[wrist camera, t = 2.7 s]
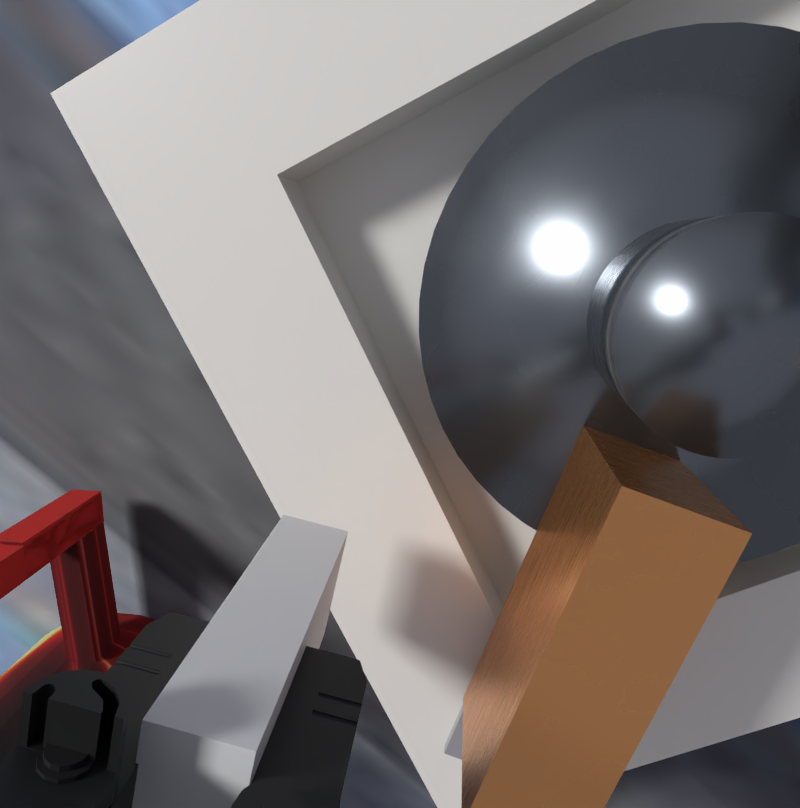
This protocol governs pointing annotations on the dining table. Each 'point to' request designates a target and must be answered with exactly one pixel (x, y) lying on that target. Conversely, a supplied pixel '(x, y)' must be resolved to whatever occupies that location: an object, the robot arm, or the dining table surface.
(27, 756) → the robot arm
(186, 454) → the dining table surface
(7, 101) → the dining table surface
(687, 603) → the dial
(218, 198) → the housing
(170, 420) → the dining table surface
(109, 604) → the mug
